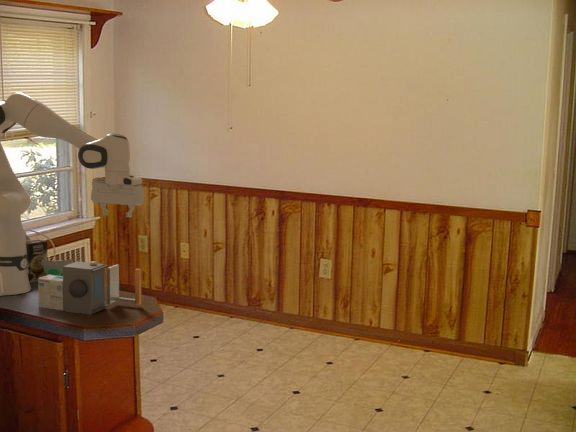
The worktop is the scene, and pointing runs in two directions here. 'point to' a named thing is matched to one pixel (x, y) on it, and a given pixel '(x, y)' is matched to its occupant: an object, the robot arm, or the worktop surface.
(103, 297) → the camera body
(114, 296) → the side door
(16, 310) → the worktop surface
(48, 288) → the light bulb box
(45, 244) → the coffee box
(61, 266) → the food container
